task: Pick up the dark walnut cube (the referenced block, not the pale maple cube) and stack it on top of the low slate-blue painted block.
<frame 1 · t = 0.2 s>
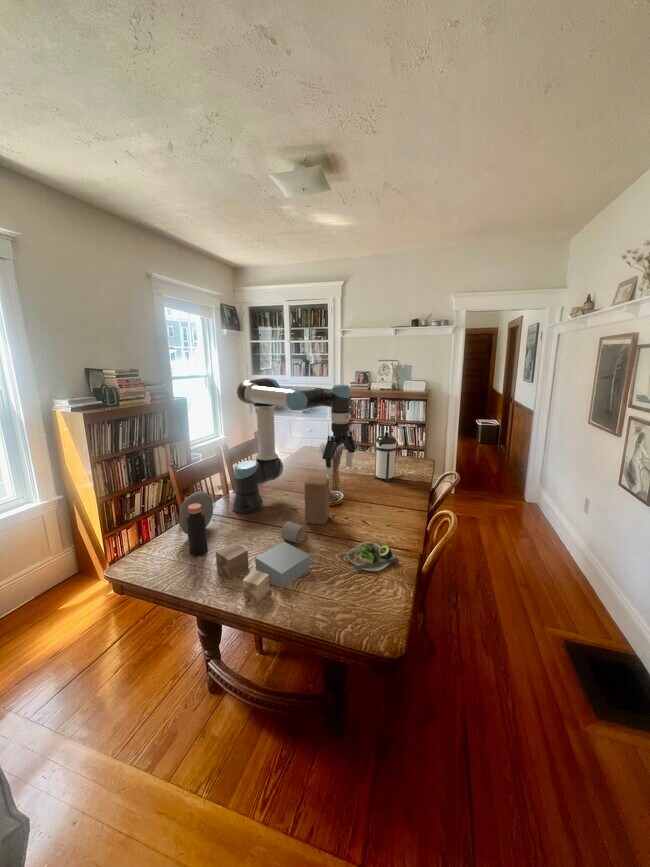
hand: (339, 470, 147), 28 cm above the table, fingers open, 13 cm apart
slate block: (283, 570, 125), on the table
salad plate: (372, 559, 132), on the table
maple cube: (256, 592, 113), on the table
grey round disc: (198, 532, 150), on the table
coffee press: (385, 477, 217), on the table
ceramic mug: (295, 539, 146), on the table
bottle: (198, 552, 136), on the table
walnut cube: (233, 570, 125), on the table
wooden block: (317, 519, 162), on the table
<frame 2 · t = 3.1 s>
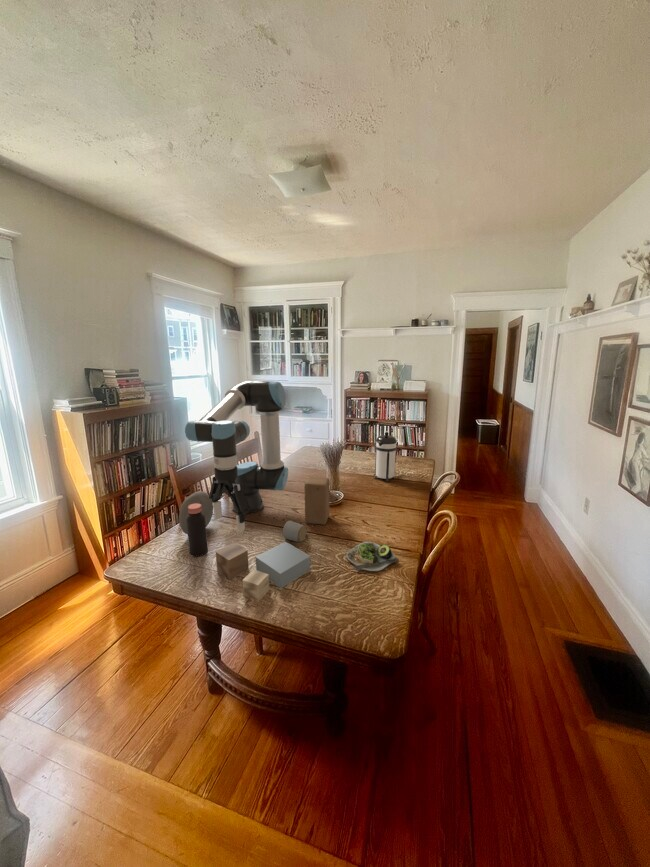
hand: (229, 524, 120), 19 cm above the table, fingers open, 13 cm apart
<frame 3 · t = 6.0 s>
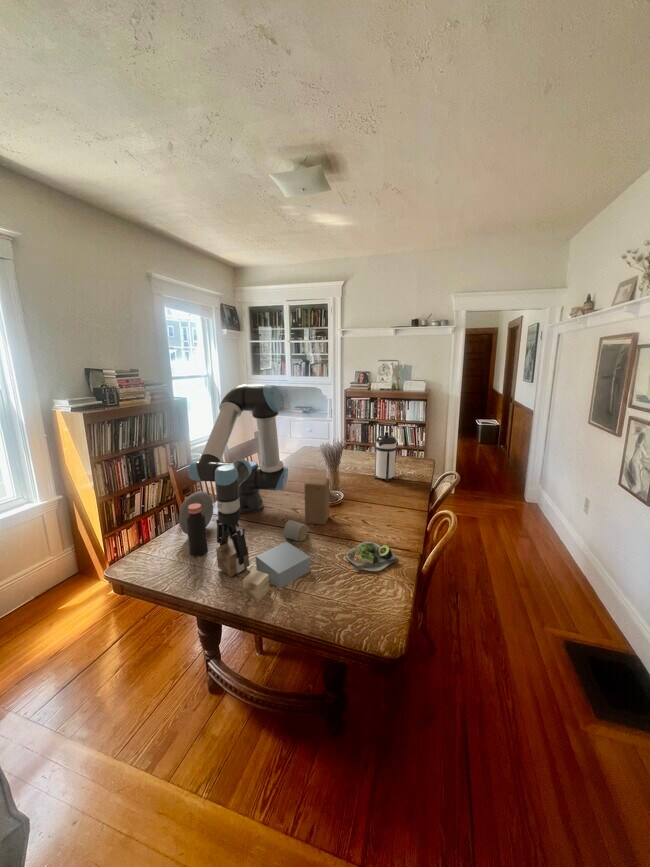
hand: (233, 565, 125), 2 cm above the table, fingers closed on walnut cube, 8 cm apart
walnut cube: (233, 566, 125), point 1 cm above the table, touching gripper
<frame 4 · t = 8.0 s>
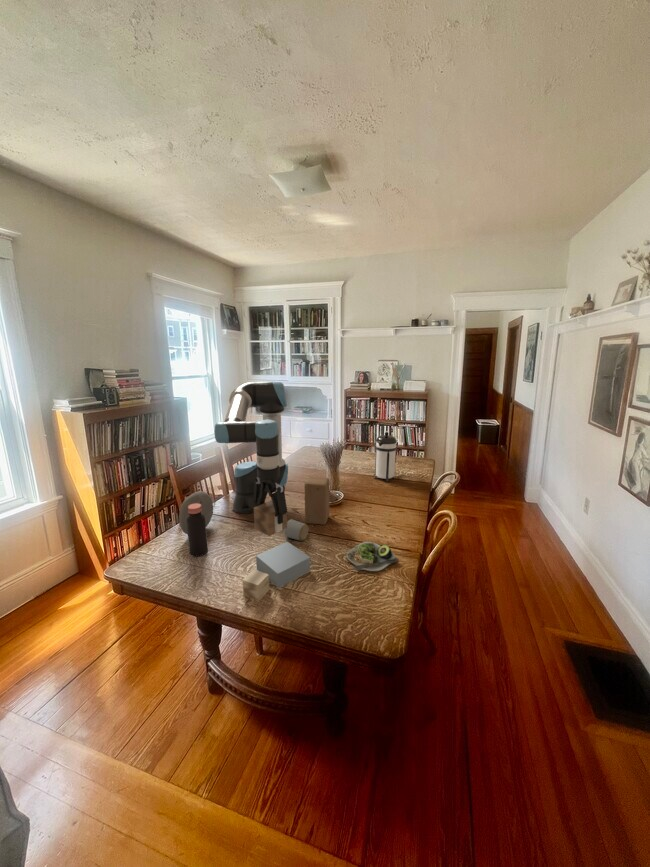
hand: (270, 527, 120), 18 cm above the table, fingers closed on walnut cube, 8 cm apart
walnut cube: (270, 527, 120), point 17 cm above the table, touching gripper
when the fingers open (7 cm above the table, at t = 10.2 s): walnut cube stays where it is, point 6 cm above the table.
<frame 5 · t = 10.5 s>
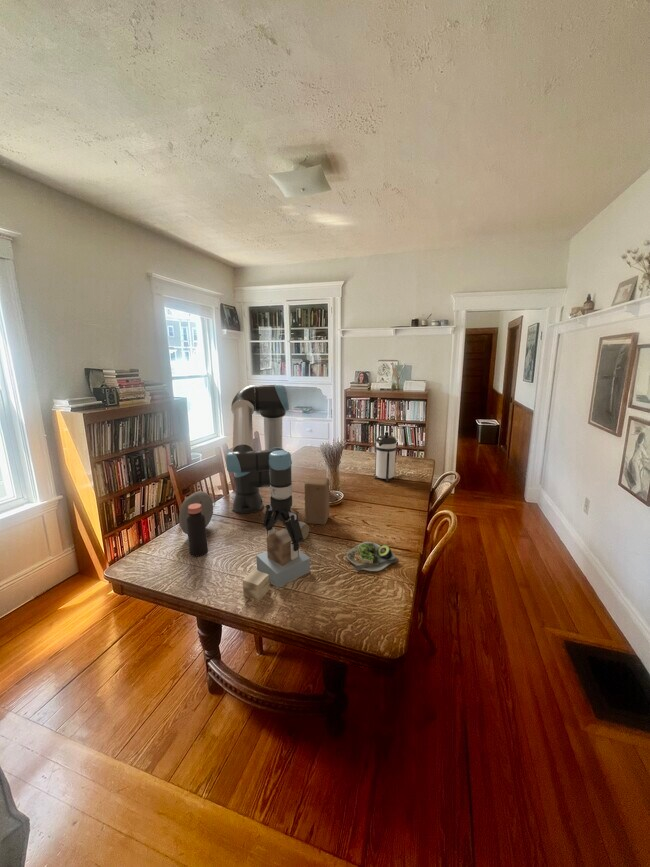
hand: (282, 551, 123), 8 cm above the table, fingers open, 11 cm apart
walnut cube: (283, 556, 123), point 6 cm above the table
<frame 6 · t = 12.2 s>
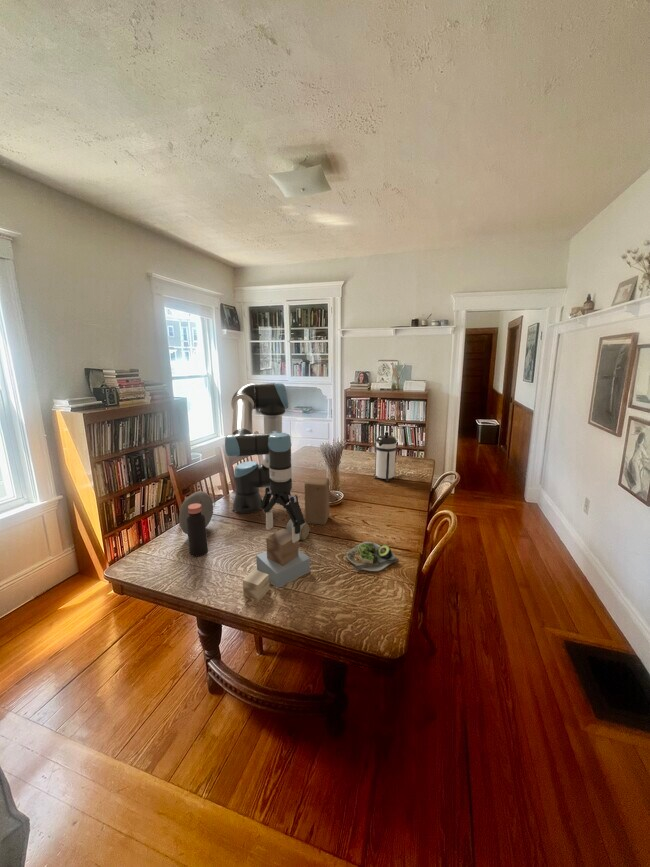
hand: (282, 534, 121), 14 cm above the table, fingers open, 13 cm apart
slate block: (283, 571, 125), on the table, touching walnut cube
walnut cube: (282, 556, 123), point 6 cm above the table, touching slate block
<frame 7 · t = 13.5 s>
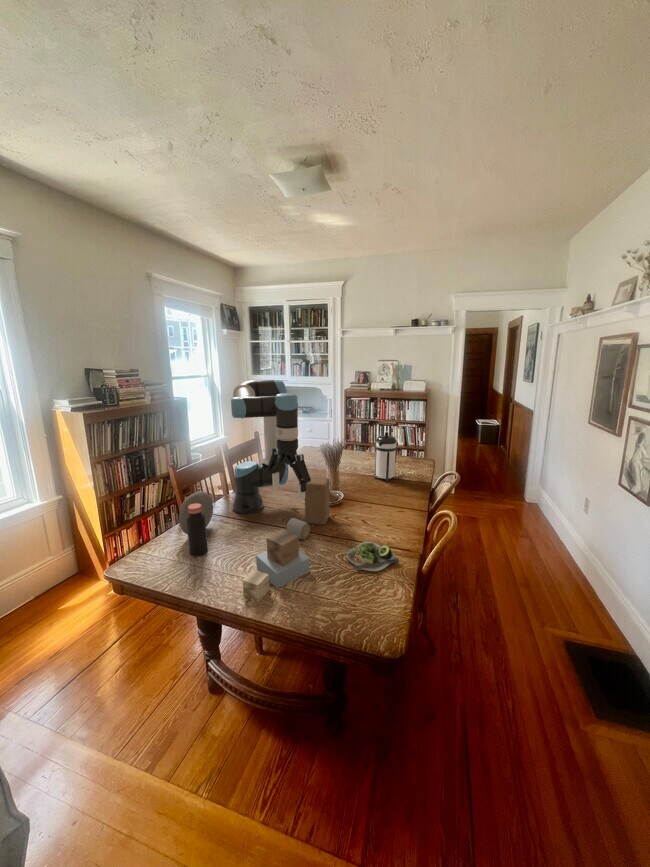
hand: (288, 494, 124), 27 cm above the table, fingers open, 13 cm apart
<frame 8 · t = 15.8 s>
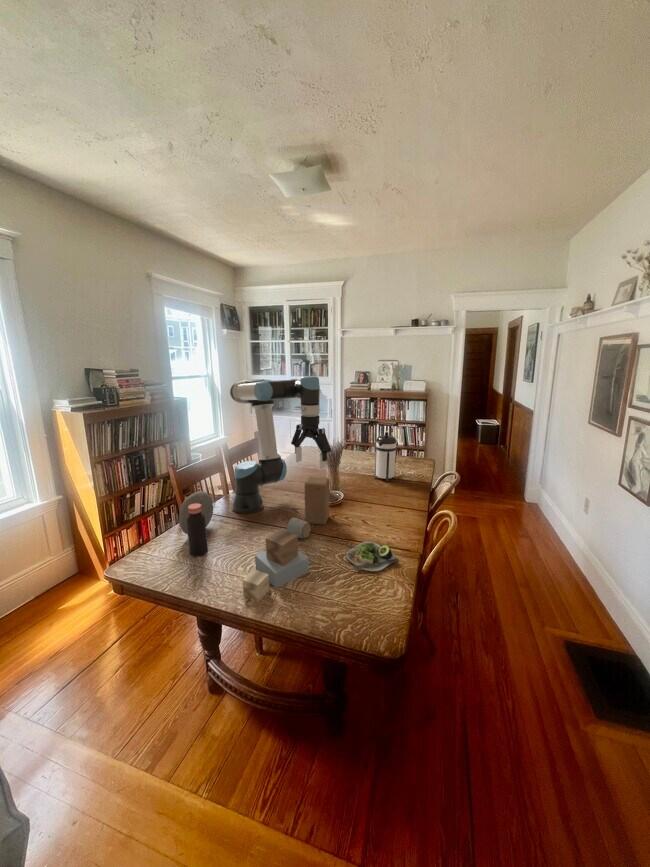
hand: (310, 464, 143), 32 cm above the table, fingers open, 13 cm apart
at the end: walnut cube inside the target area on the slate block (0.4 cm from its centre), point 6.0 cm above the slate block's base; walnut cube tilted 0°; the gripper is holding nothing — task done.
